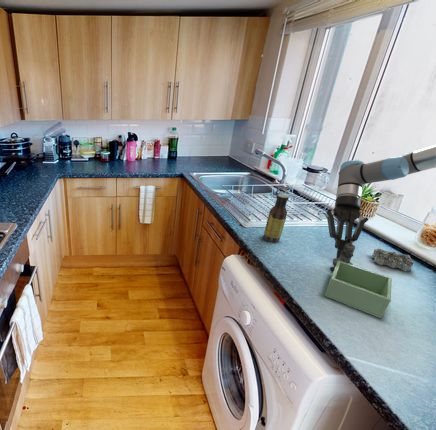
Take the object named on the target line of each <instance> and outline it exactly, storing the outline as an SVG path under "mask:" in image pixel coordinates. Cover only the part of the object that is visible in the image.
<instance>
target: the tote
mask: <svg viewBox="0 0 436 430" xmlns="http://www.w3.org/2000/svg"><path fill="white" fill-rule="evenodd" d="M392 280H393V278H392V277H390V276H387V275H384V274H381V273H378V272H375V271H372V270H368V269H365V268H362V267H360V266H356V265H354V264H353V265H350V264H347V263H344V262H341V261H338V262H337V264H336V266H335V269H334V271H333V272H332V274H331V276H330V279H329V282H328V283H327V287H326V290H325V293H324V295H323V296H324V297H326V298H329V299H330V300H331V299H332V300H334V301H336V302H338V303H342V304H344V305H346V306H349V307H351V308H354V309H356V310H359V311H361V312H364V313H367V314H369V315H371V316H374V317H376V318H379V319H382V317H383V316H384V314H385V312H386V310H387V309H388V307H389V305H390V303H391V301H392V286H393V285H392V284H393V281H392Z"/></svg>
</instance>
